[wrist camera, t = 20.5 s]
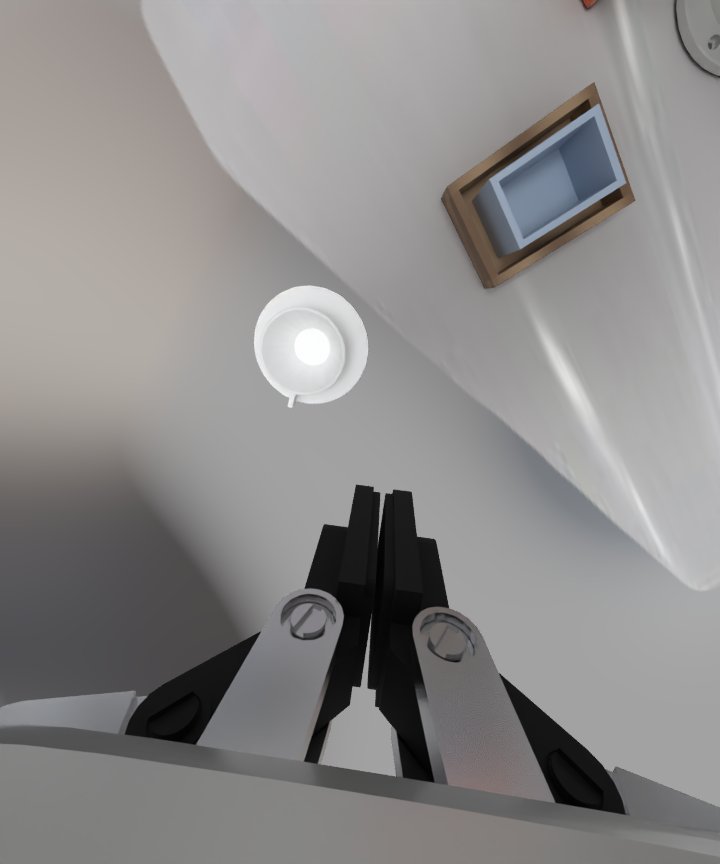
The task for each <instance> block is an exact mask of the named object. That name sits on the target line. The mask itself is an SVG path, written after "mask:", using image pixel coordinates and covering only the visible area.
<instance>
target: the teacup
mask: <svg viewBox="0 0 720 864" xmlns="http://www.w3.org/2000/svg"><path fill="white" fill-rule="evenodd" d="M254 349H255V354H256V360H257V362H258V364H259V367H260V369H261V371H262V373H263V375H264V376H265V378H266V379H267V380H268V381H269V383H270V384H271V385H272V386H273V387H274V388H275V389H277V390H278V391H279V392H280V393H281V394H283V395H284V396H286V397H288V398H289V402H288V407H290V408H293V406H294V404H295V403H296V401H297V402H302V403H308V404H319V403H327V402H330V401H333V400H335V399H339V398H340V397H342V396H343V395H344V394H346V393H347V392H349V391H350V390H351V389H352V388H353V387H354V386H355V384H356V383H357V382H358V381H359V380H360V378H361V376H362V373H363V371H364V369H365V367H366V362H367V357H368V351H369V349H368V337H367V333H366V330H365V327H364V324H363V322H362V319H361V318H360V316H359V315H358V313H357V312H356V310H355V309H354V307H353V306H352V305H351V304H350V303H349V302H348V301H346V300H345V299H344V298H343V297H342V296H341V295H339V294H337V293H335V292H333V291H331V290H329V289H327V288H323V287H317V286H311V285H307V286H299V287H293V288H291V289H288V290H286V291H283V292H281V293H279V294H278V295H277V296H276V297H275V298H273V299H272V300H271V301H270V302H268V304H267V305H266V307H265V308H264V310H263V311H262V313H261V314H260V316H259V319H258V322H257V325H256V328H255V334H254Z"/></svg>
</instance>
